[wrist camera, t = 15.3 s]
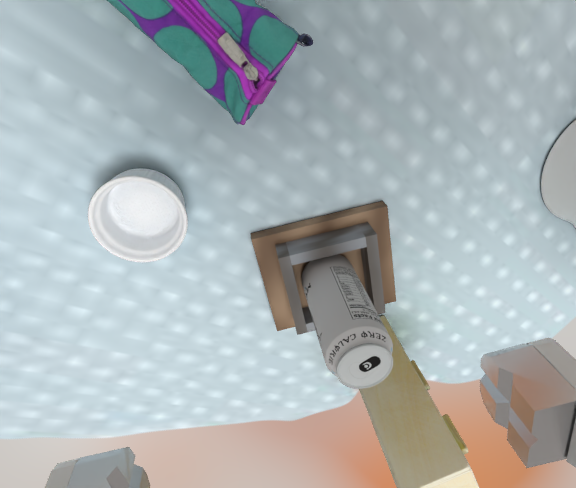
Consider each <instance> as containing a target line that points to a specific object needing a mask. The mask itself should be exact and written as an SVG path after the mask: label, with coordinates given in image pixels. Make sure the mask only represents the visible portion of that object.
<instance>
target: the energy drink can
mask: <svg viewBox="0 0 576 488" xmlns="http://www.w3.org/2000/svg"><path fill="white" fill-rule="evenodd" d="M301 281H302V286H303V289H304V293H305V296H306V299H307V303H308V306H309V309H310V313H311V316H312V319H313V323H314V326H315V329H316V333H317V336H318V339H319V343H320V346H321V349H322V353H323V356H324V359H325V362H326V365H327V367H328V369H329V370H330V371H331V372H332V373H333V374H334V375H336V376H337V377H338V379H339V381H340V382H341V383H342V384H343V385H345V386H347V387H350V388H354V389H364V388H369V387H372V386H374V385H376V384H378V383H380V382H381V381H383V380H384V379H385V378H386V377H387V376H388V375H389V374H390V372H391V370H392V367H393V357H392V352H393V343H392V339H391V337H390V336H389V334H388V332H387V330H386V328H385V326H384V324H383V322H382V321H381V319H380V317H379V315H378V313H377V311H376V309H375V307H374V306H373V304H372V302H371V300H370V298H369V296H368V294H367V292H366V291H365V289H364V287H363V285H362V283H361V281H360V279H359V277H358V276H357V274H356V272H355V270H354V268H353V266H352V264H351V263H350V261H349V260H348V259H347V258H345V257H344V256H342V255H339V254H336V255H332V256H328V257H324V258H320V259H316V260H312V261H310V262H309V263H308V264H307V265H306V266H305V268H304V270H303V272H302V277H301Z"/></svg>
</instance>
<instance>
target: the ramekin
mask: <svg viewBox="0 0 576 488" xmlns="http://www.w3.org/2000/svg"><path fill="white" fill-rule="evenodd" d="M88 222H89V226H90V229H91V231H92V233H93V235H94V237H95V238H96V240H97V241H98V242H99V243H100V244H101V246H103V247H104V248H105V249H106V250H107V251H109V252H110V253H112V254H114V255H115V256H118V257H120V258H122V259H125V260H129V261H134V262H151V261H156V260H160V259H163V258H165V257H167V256H168V255H170V254H171V253H173V252H174V251H175V250H176V249H177V248H178V247H179V246H180V244H181V243H182V241H183V240H184V238H185V235H186V232H187V226H188V219H187V213H186V207H185V201H184V198H183V195H182V192H181V190H180V189H179V187H178V186H177V185H176V184H175V183H174V181H172V180H171V179H170V178H169V177H167V176H166V175H164V174H162V173H160V172H158V171H155V170H151V169H144V168H136V169H130V170H127V171H124V172H122V173H120V174H118V175H117V176H115V177H114V178H113V179H111V180H110V181H108V182H107V183H105V184H104V185H102V186H101V187H100V188H99V189H98V190H97V191H96V192H95V194H94V195H93V197H92V199H91V201H90V204H89V208H88Z"/></svg>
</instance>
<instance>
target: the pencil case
mask: <svg viewBox="0 0 576 488" xmlns="http://www.w3.org/2000/svg"><path fill="white" fill-rule="evenodd" d="M107 1H108V2H110V3H111V4H112V5H113V6H114V7H115V8H116V9H118V10H119V11H120V12H121V13H122V14H124V15H125V16H126V17H127V18H128V19H129V20H130V21H131V22H132V23H133V24H134V25H135V26H136V27H137V28H139V29H140V30H141V31H142V32H143V33H144V34H146V35H147V36H148V37H149V38H151V39H152V40H153V41H154V42H155V43H156V44H157V45H158V46H159V47H160V48H161V49H162V50H163V51H165V52H166V53H167V54H168V55H169V56H170V57H171V58H173V59H174V60H175V61H177V62H178V63H180V64H182V65H183V66H184V67H185V69H186V70H187V71H188V72H189V73H190V75H191V76H192V77H193V78H194V79H195V80H196V81H197V82H198V83H199V84H200V85H201V86H202V87H203V88H204V89H205V90H206V91H207V92H208V93H209V94H210V95H211V96H212V97H213V98H214V99H215V100H216V101H217V102H218V103H219V104H220V105H221V106H222V107H223V108H224V109H226V110H227V111H228V112H229V113H230V114H231V116H232V117H233V120H234V122H235V123H237V124H242V125H244V124H245V122H246V121H247V120H248V119H249V118H250V117H251V115H252V114H253V112H254V111H255V109H256V108H257V106H258V104H262V103H263V102H264V100H265V99H266V97H267V95H268V94H269V92H270V90H271V89H272V88H273V86H274V85H275V83H276V80H275V79H276V77H277V75H278V73H279V72H280V70H281V69H282V67H283V66H284V64H285V63H286V61H287V60H288V59H289V58H290V56H291V55H292V53H293V52H294V50H295V48H296V46H297V44H300V45H301V46H311V45H312V44H313V40H312V38H311V37H310V36H309V35H308V34H302V35H299V34H298V33H297V32H296V31H295V30H294V29H293V28H292V27H290V26H288V25H286V24H284V23H282V22H281V21H280V20H279V19H278V18H277V17H276V16H275V15H274V14H272V13H271V12H270V11H268V10H267V9H265V8H263V7H261V6H259V5H257V4H256V3H255V0H107ZM302 42H303V43H304V44H303V43H302Z"/></svg>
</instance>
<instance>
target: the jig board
mask: <svg viewBox="0 0 576 488" xmlns="http://www.w3.org/2000/svg"><path fill="white" fill-rule="evenodd" d="M251 240H252V243H253V247H254V250H255V254H256V257H257V261H258V265H259V268H260V272H261V275H262V279H263V282H264V286H265V289H266V293H267V296H268V300H269V303H270V307H271V310H272V314H273V317H274V321H275V324H276V328H277V331H280V330H283V329H287V328H291V327H296V331H297V335H298V334H302V333H306V332H310V331H314V330H316V329H315V326H314V323H313V319H312V316H311V313H310V309H309V306H308V303H307V299H306V296H305V293H304V289H303V286H302V281H301V277H302V272H303V270H304V268H305V266H306V265H307V264H308V263H309V262H310V261H312V260H316V259H320V258H324V257H328V256H332V255H336V254H339V255H342V256H344V257H345V258H347V259H348V260H349V261H350V263H351V264H352V266H353V268H354V270H355V272H356V274H357V276H358V277H359V279H360V281H361V283H362V285H363V287H364V289H365V291H366V292H367V294H368V296H369V298H370V300H371V302H372V304H373V306H374V307H375V309H376V311H377V313H378V314H381V313H385V304H386V303H390V302H394V301H396V295H395V285H394V274H393V263H392V252H391V241H390V230H389V219H388V208H387V205H386V204H385V203H384V202H383V201H380V202H376V203H372V204H368V205H364V206H360V207H356V208H352V209H348V210H344V211H340V212H336V213H332V214H328V215H323V216H319V217H315V218H311V219H307V220H303V221H299V222H295V223H291V224H287V225H283V226H279V227H275V228H271V229H267V230H263V231H259V232H255V233H251Z"/></svg>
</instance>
